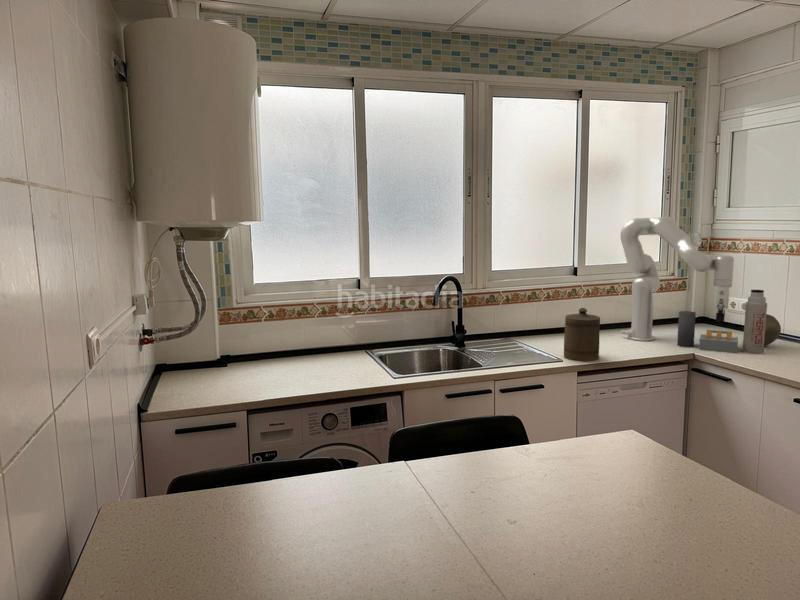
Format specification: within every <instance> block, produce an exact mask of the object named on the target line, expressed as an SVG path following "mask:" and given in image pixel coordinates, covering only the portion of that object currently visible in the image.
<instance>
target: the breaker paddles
mask: <svg viewBox="0 0 800 600" xmlns="http://www.w3.org/2000/svg"><path fill="white" fill-rule="evenodd" d="M706 334H707V337H712V334H716V335H717V336H716V338H721V337H722V335H727V338H726V339H732V336H733V331H729V330H728V331H727V330H714V329H707V330H706Z"/></svg>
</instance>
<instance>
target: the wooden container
mask: <svg viewBox="0 0 800 600" xmlns="http://www.w3.org/2000/svg"><path fill="white" fill-rule="evenodd" d="M578 312H579V313H571V314H567V315H565V319H564V322H565V323H564V337H563V339H564V341H563V357H564V358H565V359H568V360H572V361H577V362H592V361H597V360H598V359H600V325H601V316H598V315H594V314H588V313H587V312H588V309H587V308H585V307H581V308H579V309H578Z"/></svg>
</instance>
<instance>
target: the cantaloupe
mask: <svg viewBox="0 0 800 600" xmlns="http://www.w3.org/2000/svg"><path fill="white" fill-rule="evenodd" d="M781 331H782V328H781V324H780V322H779V321H778V319H777V318H776V317H775V316H773V315H771V314H767V313H766V326H765V339H764V347H765V346H768V345H770V344H772V343H774V342H775V341H776V340H777V339H778V338H779V337H780V335H781Z"/></svg>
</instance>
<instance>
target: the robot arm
mask: <svg viewBox="0 0 800 600" xmlns="http://www.w3.org/2000/svg"><path fill="white" fill-rule="evenodd" d="M649 235H651V236H653V235H656V236H657V235H658V236H659V237H660V238H661V239H662V240H663V241H664V242H666V243H667V244H668V245H669V246H670V247H672V248H673V249H674V251H675V252H676V253H677V255H678V256H679V257H680V258H681V259H682V261H684V262H685V263H686V264H687V265H688V266H689V267H691V268H692V270H695V271H696V272H699V273H704V272H709V271H713V280H712V281H713V282H712V287H715V296H714V297H715V308H716V313H715V322H716V323H724V322H725V317H726V316H725V315H726V314H725V313H726V310H727V309H729V302H730V288H732V287H733V279H734V277H733V275H734V259H735V258H734V256H732V255H715V254H703V253H702V252H701V251H700V250H698V249H697V248H696V247H695V246H694V245H693V243H692V241H691V237H690V236H689V235H688V234H687V233H686V232H685V231H684V230H682V228H680V227H679V226H678V224H677V220H675V219H674V218H673V217H671V216H662V217H661V216H660V217H641V218H639V217H637V218H633V219H630V220H629V221H627V222H626V223H624V224H623V226H622V228H621V230H620V234H619V236H620V242H621V246H622V249H623V253H624V256H625V260H626V263H627V267H628V270H629V271H630V273H632V274H634V275H637V276H638V277H636V278H635V279H634V280H632V283H631V294H632V296H631V298H632V299H631V300H632V301H631V302H632V304H631V325H630V326H631V327H630V328H629V329H628V330H624V329H622V330H620V334H621V335H625V336H626V335H627V339H628V340H632V341H639V342H641V341H642V342H651V341H654V340H655V339H656V337H655V336H654V335H653V320H654V319H653V314H654V296H653V294H654V293H655V292H657V291H658V289H659V288H660V285H661V284H660V283H661V281H660V276H659V274H658V270H657V268H656V267H657V266H656V263H655V261H654V258H652V256H651V255H649V254H647V253H645V252H644V249H643V245H642V242H641V241H640V239H639V237H640V236H649ZM725 309H726V310H725Z"/></svg>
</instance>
